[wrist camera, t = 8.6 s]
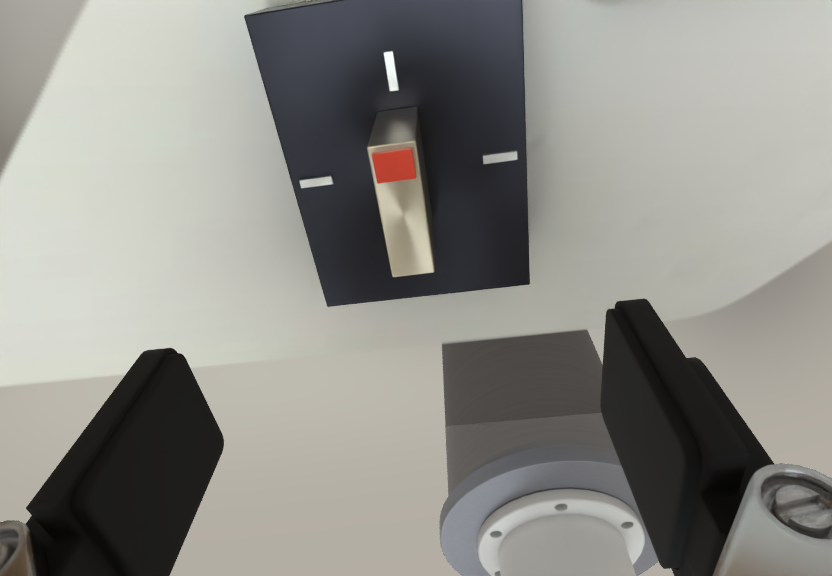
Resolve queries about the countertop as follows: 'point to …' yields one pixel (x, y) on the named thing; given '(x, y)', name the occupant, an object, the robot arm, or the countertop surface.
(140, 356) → the robot arm
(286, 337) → the countertop surface
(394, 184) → the knob
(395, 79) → the panel
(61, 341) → the countertop surface
